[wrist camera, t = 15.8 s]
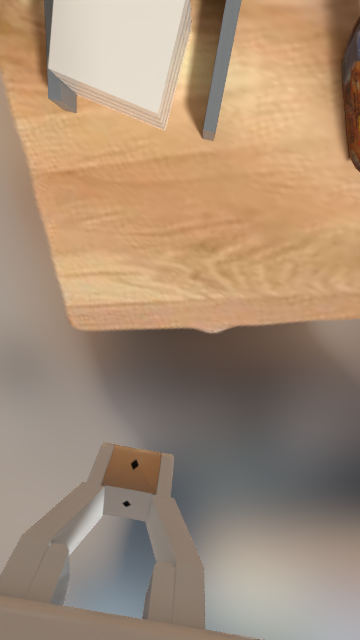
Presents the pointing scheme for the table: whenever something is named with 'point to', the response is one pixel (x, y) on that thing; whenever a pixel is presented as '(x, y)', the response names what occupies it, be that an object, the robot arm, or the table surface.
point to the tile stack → (122, 53)
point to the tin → (352, 93)
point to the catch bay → (68, 98)
